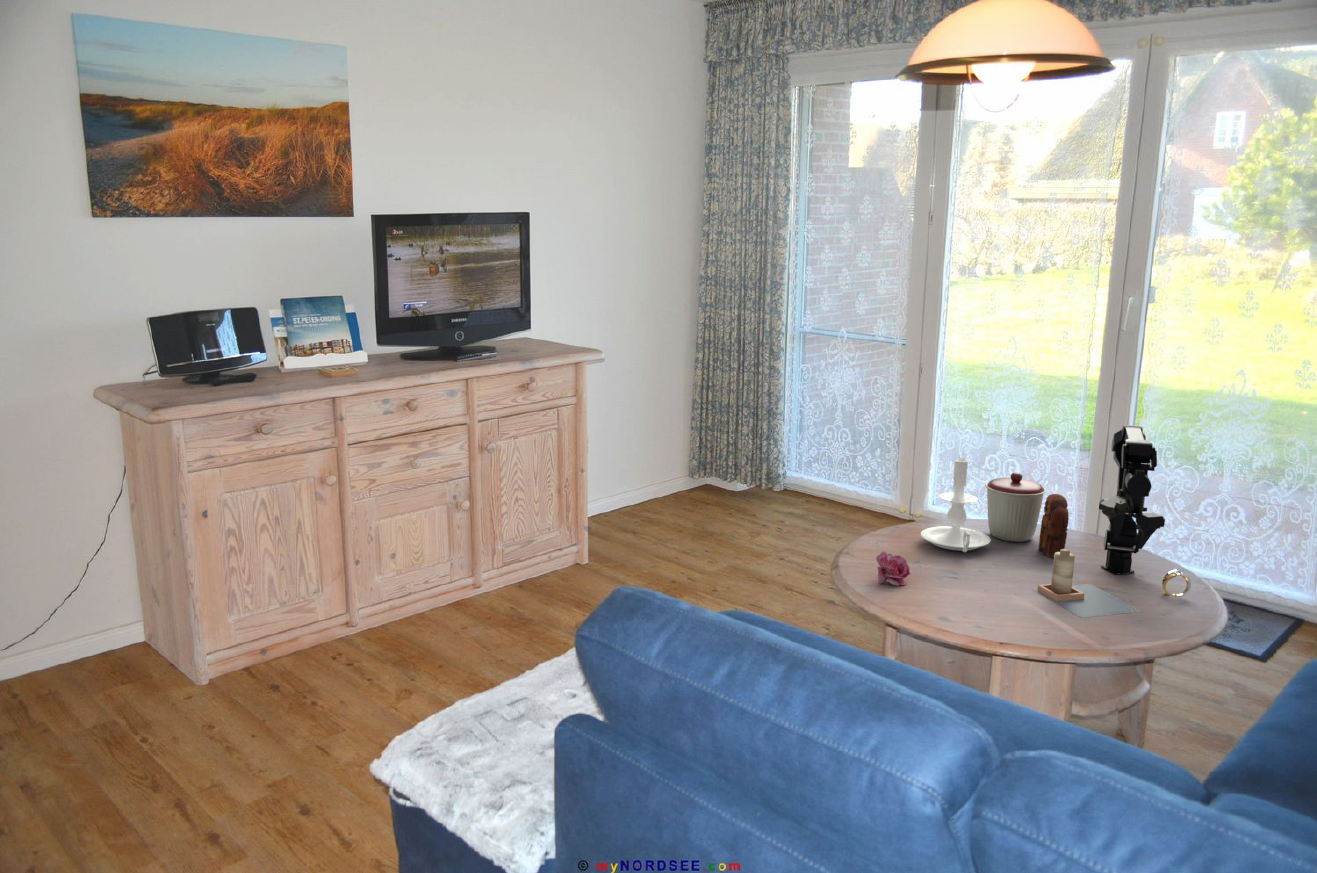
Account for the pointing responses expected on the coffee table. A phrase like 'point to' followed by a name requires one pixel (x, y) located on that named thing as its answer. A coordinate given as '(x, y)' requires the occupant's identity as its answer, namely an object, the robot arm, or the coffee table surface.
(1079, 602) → the board
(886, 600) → the coffee table surface
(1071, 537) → the coffee table surface
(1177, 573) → the ring
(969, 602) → the coffee table surface
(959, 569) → the coffee table surface
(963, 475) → the candlestick
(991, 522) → the canister
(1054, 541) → the wooden figurine
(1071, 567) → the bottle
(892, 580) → the flower
